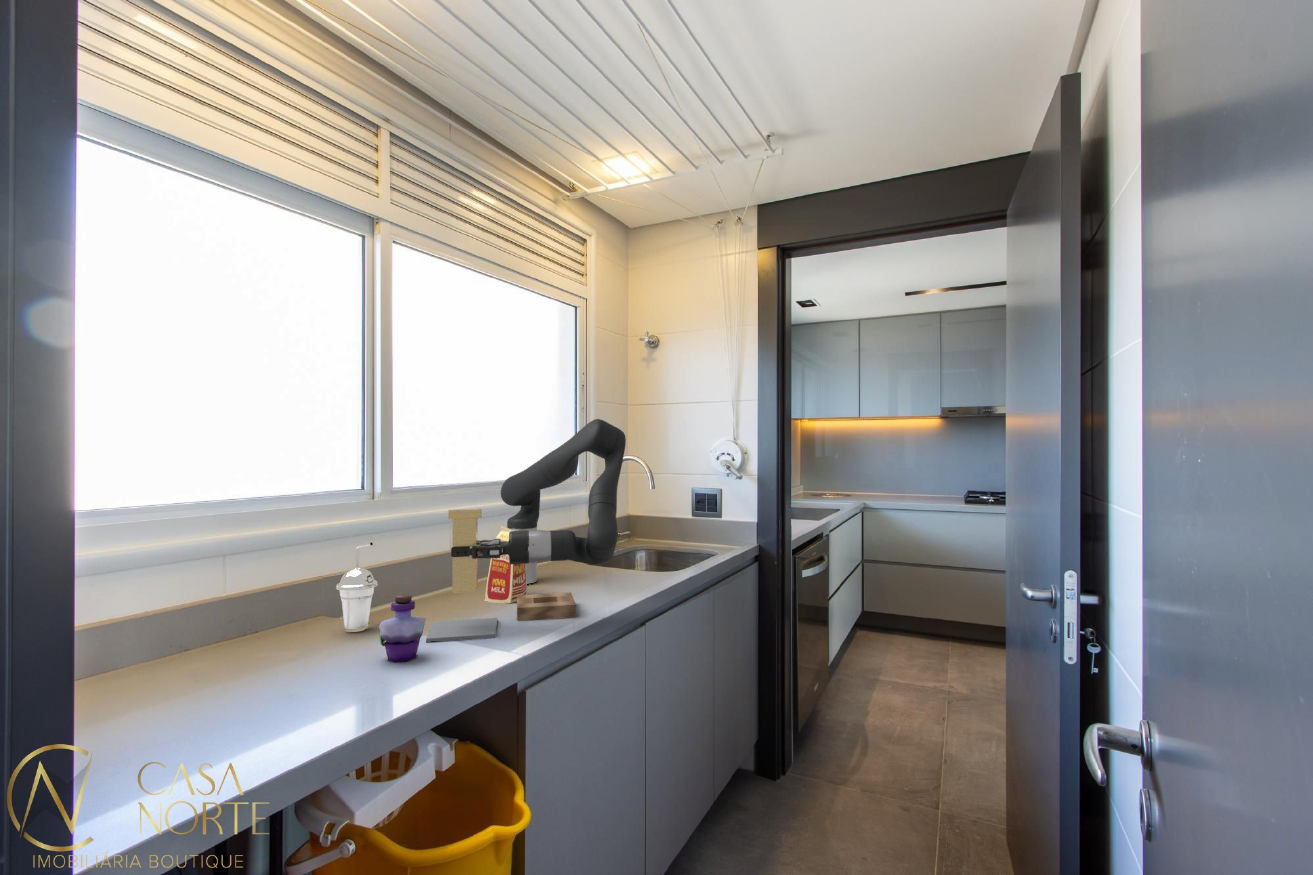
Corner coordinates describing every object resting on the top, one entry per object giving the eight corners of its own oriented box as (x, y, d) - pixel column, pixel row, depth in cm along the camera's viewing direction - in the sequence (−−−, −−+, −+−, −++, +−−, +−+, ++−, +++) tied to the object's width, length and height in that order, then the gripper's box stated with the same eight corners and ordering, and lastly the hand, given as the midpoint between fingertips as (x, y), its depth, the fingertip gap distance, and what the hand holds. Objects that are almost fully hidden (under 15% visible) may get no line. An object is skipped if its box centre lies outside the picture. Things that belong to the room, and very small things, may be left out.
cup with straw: (374, 623, 140) (375, 537, 141) (380, 632, 133) (381, 541, 133) (333, 628, 136) (335, 540, 136) (336, 638, 128) (338, 544, 129)
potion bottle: (373, 656, 116) (374, 594, 116) (419, 648, 121) (420, 588, 122) (383, 668, 109) (385, 602, 110) (432, 659, 114) (433, 596, 115)
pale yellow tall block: (447, 593, 130) (447, 510, 131) (450, 588, 135) (450, 509, 136) (480, 591, 132) (480, 509, 133) (482, 586, 137) (482, 508, 138)
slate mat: (426, 642, 125) (426, 638, 125) (434, 624, 138) (434, 621, 139) (495, 637, 128) (495, 634, 128) (497, 620, 142) (497, 617, 142)
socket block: (517, 620, 142) (517, 607, 142) (517, 606, 156) (517, 595, 156) (576, 617, 145) (576, 604, 145) (570, 603, 159) (571, 592, 159)
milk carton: (484, 601, 162) (485, 527, 162) (502, 594, 170) (503, 524, 171) (514, 604, 159) (514, 528, 160) (531, 596, 168) (531, 525, 168)
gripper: (529, 527, 144) (455, 529, 141) (530, 533, 131) (449, 537, 127) (529, 558, 144) (455, 562, 140) (531, 568, 130) (449, 572, 126)
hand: (453, 550), depth 133 cm, fingers closed on pale yellow tall block, 5 cm apart
